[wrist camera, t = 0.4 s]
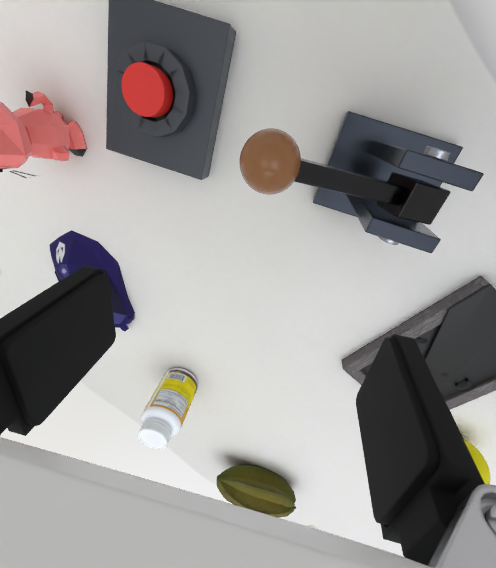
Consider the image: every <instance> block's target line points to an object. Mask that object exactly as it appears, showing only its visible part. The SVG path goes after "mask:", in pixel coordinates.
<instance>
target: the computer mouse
mask: <svg viewBox="0 0 496 568" xmlns="http://www.w3.org/2000/svg"><path fill="white" fill-rule="evenodd" d="M50 251H51V256H52V260H53V263H54V267H55V274H56V276H57V279H58V281H61V280H62V279H64V278H66V277H67V276H69V275H70V274H72V273H73V272H75V271H77V270H78V269H80V268H81V267H83V266H89V267H94V268H98V269H102V270H104V272H105V274H106V275H108V277H109V282H110V290H111V299H112V307H113V316H114V324H115V327H120V328H121V329H122V330H123V331H126V330H127V329H129V327H128V323H130V322H131V321H132V320H133V319H134V317H133V316H134V313H135V312H134V310H133V308H132V306H131V304H130V301H129V299H128V296H127V293H126V289H125V286H124V282H123V279H122V275H121V272H120V268H119V265H118V262H117V261H116V260H115V259H114V258H113V257H112V256H111V255H110V254H109V253H108V252H107V251H106V250H105V249H104V248H103V247H102V246H101V245H100V244H99V243H98V242H97V241H94V240H92V239H90V238H87V237H85V236H83V235H80V234H78V233H76V232H73V231H70V232H68V233H66V234H64V235H62V236H61V237H59V238H58V239H56V240H55V241H54V242H53V243H51V244H50Z"/></svg>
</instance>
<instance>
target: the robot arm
mask: <svg viewBox="0 0 496 568" xmlns="http://www.w3.org/2000/svg"><path fill="white" fill-rule="evenodd" d="M115 337H116V332H115V324H114V316H113V307H112V299H111V290H110V282H109V277H108V275H106V274H105V272H104V270H102V269H98V268H94V267H89V266H83V267H81V268H80V269H78V270H77V271H75V272H73V273H72V274H70V275H69V276H67V277H66V278H64V279H62V280H61V281H59V282H58V283H56V284H54V285H53V286H51V287H50V288H48V289H46V290H45V291H43V292H42V293H40V294H39V295H37V296H35V297H34V298H32V299H31V300H29V301H27V302H26V303H24V304H23V305H21V306H20V307H18V308H16V309H15V310H13V311H12V312H10V313H8V314H7V315H5V316H4V317H2V318H1V319H0V435H1V433H2V432H3V431H4V430H5V429H6V428H8V430H9V431H11V432H15V433H18V434H22V435H25V436H26V435H27V434H28V433H29V432H30V431H31V429H32V428H33V427H34V426H37V425H40V424H41V423H42V422H43V421H44V420H45V419H46V418H47V417H48V416H49V415H50V414H51V413H52V411H53V410H54V409H55V408H56V407H57V406H58V405H59V404H60V403H61V401H62V400H63V399H64V398H65V397H66V396H67V395H68V394H69V392H70V391H71V390H72V389H73V388H74V387H75V386H76V385H77V383H78V382H79V381H80V380H81V379H82V378H83V377H84V376H85V375H86V374H87V372H88V371H89V370H90V369H91V368H92V367H93V366H94V365H95V363H96V362H97V361H98V360H99V359H100V358H101V357H102V356H103V355H104V353H105V352H106V351H107V350H108V349H109V348H110V347H111V346H112V344H113V343H114V341H115ZM356 407H357V413H358V419H359V426H360V432H361V438H362V445H363V451H364V457H365V464H366V470H367V476H368V483H369V489H370V495H371V502H372V508H373V514H374V518H375V520H376V522H377V523H381V528H382V534H383V539H386V540H389V541H393V542H396V543H400V544H401V546H402V551H403V555H404V557H402V556H399V555H396V554H393V553H390V552H387V551H384V550H381V549H378V548H374V547H371V546H368V545H365V544H362V543H359V542H355V541H352V540H349V539H346V538H343V537H340V536H337V535H333V534H330V533H327V532H324V531H321V530H317V529H314V528H310V527H307V526H304V525H300V524H297V523H294V522H290V521H287V520H284V519H280V518H277V517H273V516H270V515H267V514H263V513H260V512H257V511H253V510H250V509H246V508H243V507H240V506H236V505H233V504H230V503H226V502H223V501H220V500H216V499H213V498H209V497H206V496H202V495H199V494H195V493H192V492H189V491H185V490H182V489H178V488H175V487H171V486H168V485H165V484H161V483H158V482H154V481H151V480H148V479H144V478H141V477H137V476H134V475H130V474H127V473H123V472H120V471H116V470H113V469H110V468H106V467H102V466H99V465H96V464H92V463H89V462H85V461H82V460H78V459H75V458H71V457H68V456H64V455H61V454H57V453H53V452H50V451H47V450H43V449H40V448H36V447H32V446H29V445H25V444H22V443H19V442H15V441H12V440H8V439H5V438H1V437H0V568H496V486H495V485H489V484H485V483H484V481H483V479H482V477H481V475H480V473H479V471H478V469H477V466H476V464H475V462H474V460H473V458H472V456H471V454H470V452H469V450H468V448H467V446H466V444H465V441H464V439H463V437H462V435H461V433H460V431H459V429H458V427H457V425H456V423H455V421H454V418H453V416H452V414H451V412H450V410H449V408H448V406H447V404H446V402H445V400H444V398H443V396H442V394H441V392H440V391H439V388H438V386H437V384H436V382H435V380H434V378H433V376H432V374H431V372H430V370H429V367H428V365H427V363H426V361H425V359H424V357H423V355H422V353H421V351H420V349H419V347H418V344H417V342H416V341H415V339H413V338H410V337H406V336H401V335H397V334H393V335H392V336H391V337H390V338H389V337H386V338H385V339H384V340H383V342H382V344H381V346H380V348H379V351H378V353H377V355H376V357H375V359H374V361H373V363H372V365H371V367H370V369H369V371H368V373H367V375H366V377H365V379H364V382H363V384H362V386H361V388H360V390H359V392H358V394H357V398H356Z"/></svg>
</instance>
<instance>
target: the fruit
mask: <svg viewBox="0 0 496 568" xmlns="http://www.w3.org/2000/svg"><path fill="white" fill-rule="evenodd" d="M217 487H218V489H219V491H220V492H221V494H222V495H223V497H224V498H225V499H226V500H227V501H229V502H231V503H232V504H234V505H236V506H240V507H243V508H246V509H250V510H253V511H257V512H260V513H263V514H267V515H270V516H273V517H277V518H278V517H285V516H288V515H289V514H291V513H292V512H293V511H294V509H296V507H295V506H294V505H295V504H294V503H295V501H296V499H295V495H294V491H293V490H292V488H291V487H290V485H289V484H288V483H287V482H286V481H285V480H284V479H283V478H282V477H280V476H279V475H277V474H276V473H274V472H272V471H269V470H267V469H265V468H262V467H257V466H251V465H239V466H233V467H231V468H229V469H227V470H225V471H224V472H222V473H221V474H220V475H218V476H217ZM293 508H294V509H293Z"/></svg>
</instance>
